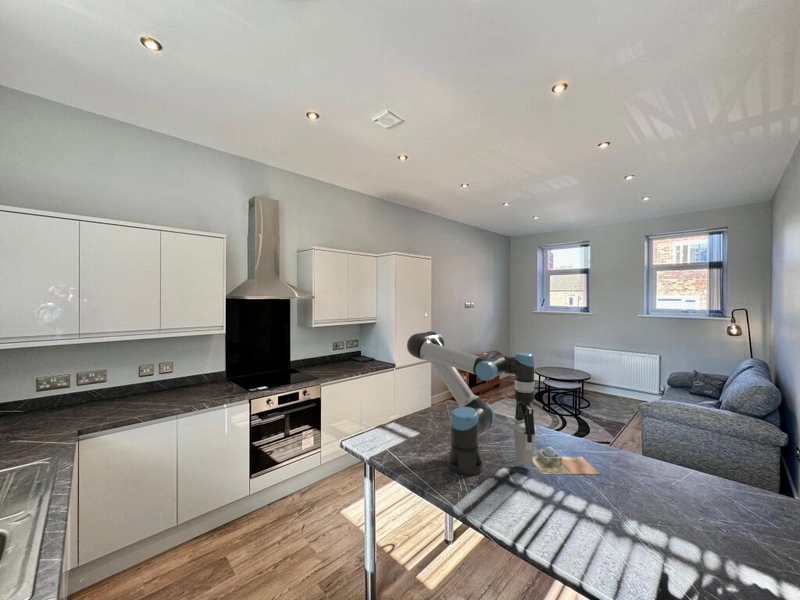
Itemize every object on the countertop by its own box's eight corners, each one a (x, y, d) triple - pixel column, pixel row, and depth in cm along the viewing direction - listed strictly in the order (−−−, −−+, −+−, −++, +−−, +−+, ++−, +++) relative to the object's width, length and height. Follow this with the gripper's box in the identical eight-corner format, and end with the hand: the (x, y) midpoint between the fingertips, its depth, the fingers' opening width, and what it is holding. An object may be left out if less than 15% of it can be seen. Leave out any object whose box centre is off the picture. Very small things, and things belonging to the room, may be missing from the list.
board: (541, 475, 126) (541, 465, 126) (528, 458, 140) (528, 449, 140) (600, 476, 125) (600, 466, 125) (581, 458, 139) (581, 449, 139)
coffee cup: (532, 454, 136) (532, 419, 135) (539, 465, 126) (540, 428, 126) (509, 452, 137) (509, 418, 136) (515, 464, 127) (515, 427, 127)
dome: (546, 460, 133) (546, 449, 133) (542, 455, 138) (542, 444, 138) (557, 460, 133) (557, 449, 133) (552, 455, 138) (552, 444, 138)
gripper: (544, 398, 120) (544, 457, 120) (524, 383, 142) (524, 432, 142) (524, 398, 120) (524, 456, 121) (507, 383, 142) (507, 432, 143)
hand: (524, 443), depth 131 cm, fingers closed on coffee cup, 9 cm apart
